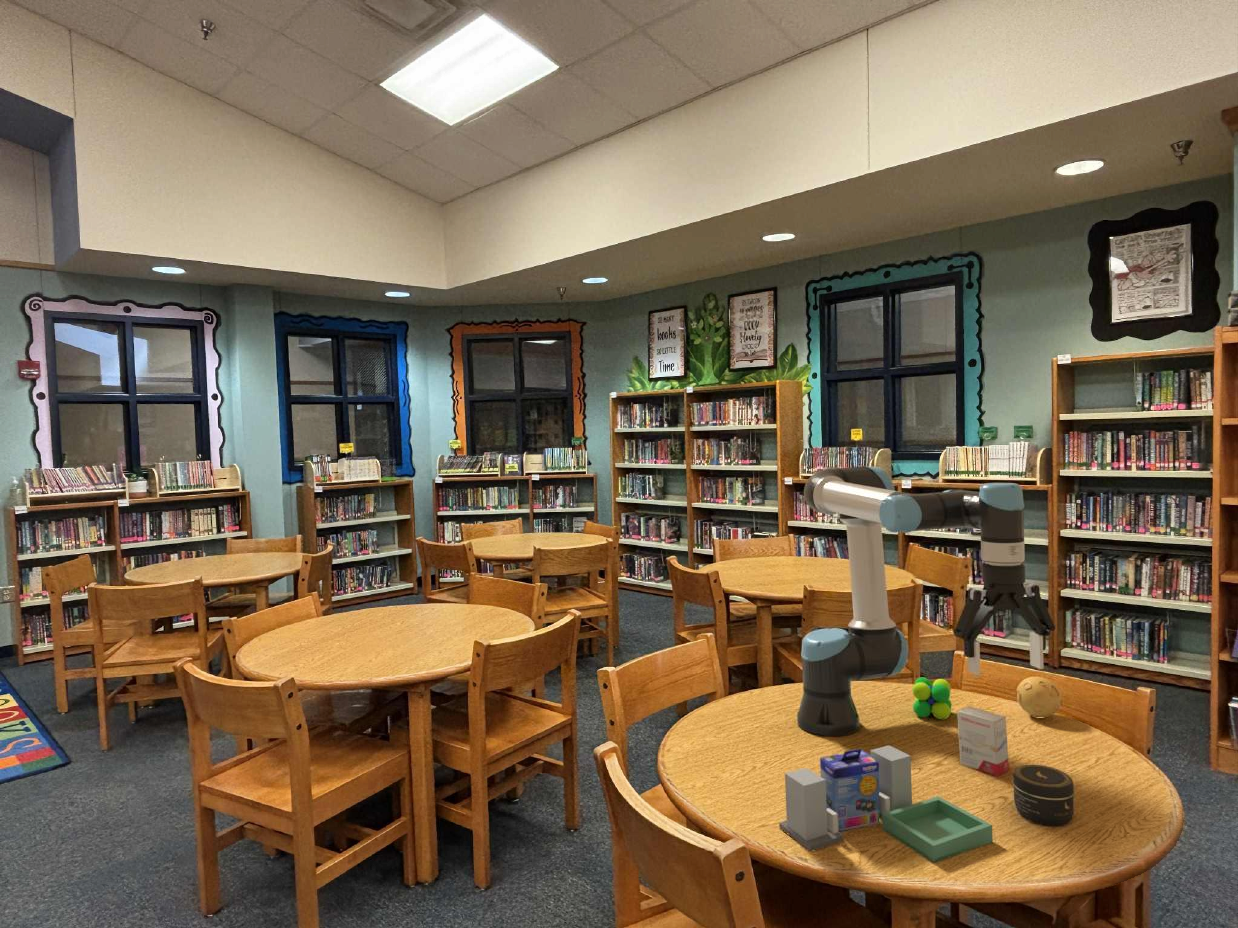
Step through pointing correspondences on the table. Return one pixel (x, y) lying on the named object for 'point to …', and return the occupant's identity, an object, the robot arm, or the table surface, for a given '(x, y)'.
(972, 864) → the table surface
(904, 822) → the tray
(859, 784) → the ink cartridge box
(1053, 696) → the stress ball
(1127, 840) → the table surface
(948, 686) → the molecule model
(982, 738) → the ink box
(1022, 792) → the jar
